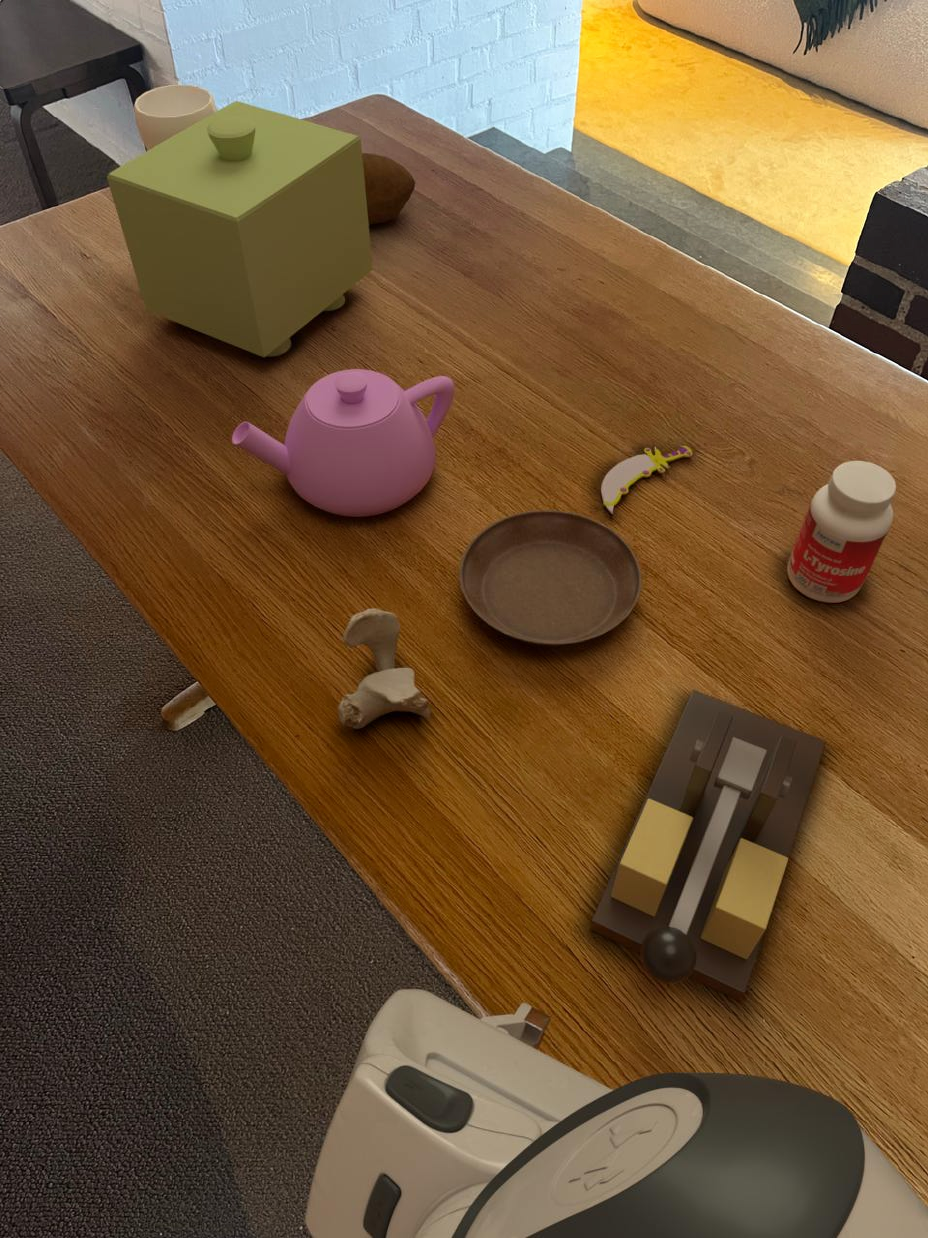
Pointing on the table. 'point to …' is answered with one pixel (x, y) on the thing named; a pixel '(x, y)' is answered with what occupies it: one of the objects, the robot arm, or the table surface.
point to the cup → (170, 111)
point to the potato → (385, 187)
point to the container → (246, 224)
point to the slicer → (692, 792)
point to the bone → (379, 672)
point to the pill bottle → (842, 532)
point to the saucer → (550, 577)
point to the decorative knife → (635, 473)
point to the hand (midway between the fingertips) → (626, 1071)
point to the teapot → (356, 442)
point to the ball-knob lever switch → (701, 868)
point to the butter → (740, 891)
